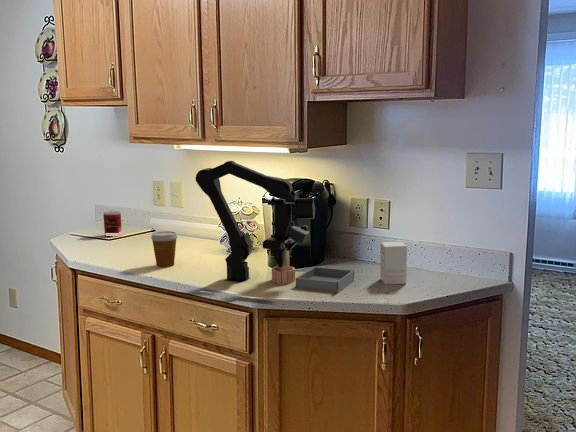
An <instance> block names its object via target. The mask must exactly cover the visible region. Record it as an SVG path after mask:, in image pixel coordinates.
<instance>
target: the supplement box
mask: <svg viewBox="0 0 576 432" xmlns="http://www.w3.org/2000/svg"><path fill="white" fill-rule="evenodd" d="M407 257H408V246H407V245H406V244H405V243H404V242H403V241H386V242H385V241H380V266H379V267H380V271H379V273H380V274H379V276H380V280H381V281H382V283H383V284H384V285H405V284H407V270H408V269H407V261H408V260H407Z"/></svg>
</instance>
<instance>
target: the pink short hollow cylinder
mask: <svg viewBox="0 0 576 432" xmlns="http://www.w3.org/2000/svg"><path fill="white" fill-rule="evenodd" d="M289 267H290V270H288V271H277V266H274V267H271V282H272V283H274V284H278V285H279V284H281V285H289V284H292V283H296V268H295V267H294V266H291V265H289Z"/></svg>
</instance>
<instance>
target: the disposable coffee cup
mask: <svg viewBox="0 0 576 432" xmlns="http://www.w3.org/2000/svg"><path fill="white" fill-rule="evenodd" d="M150 239H151V241H152V246H153V251H154V256H155V264H156V267H159V268H170V267H174V266H175V258H176V247H177V245H176V244H177V239H178V235H177V232H175V231H166V230H165V231H156V232H155V231H154V232H152V234H151V237H150Z"/></svg>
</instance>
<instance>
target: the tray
mask: <svg viewBox="0 0 576 432" xmlns="http://www.w3.org/2000/svg"><path fill="white" fill-rule="evenodd" d="M353 282H355V270H352V269H343V268H342V269H341V268H332V267H330V268H329V267H321V266H313V267H312V268H310V269H308V270H307V271H305V272H303V273H302V274H300V275H299V276H296V277H295V288H297V289H307V290H317V291H324V292H332V293H333V294H340V292H342V291H343V290H345V289H346V288H347V287H348V286H349V285H351V284H352V283H353Z"/></svg>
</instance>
